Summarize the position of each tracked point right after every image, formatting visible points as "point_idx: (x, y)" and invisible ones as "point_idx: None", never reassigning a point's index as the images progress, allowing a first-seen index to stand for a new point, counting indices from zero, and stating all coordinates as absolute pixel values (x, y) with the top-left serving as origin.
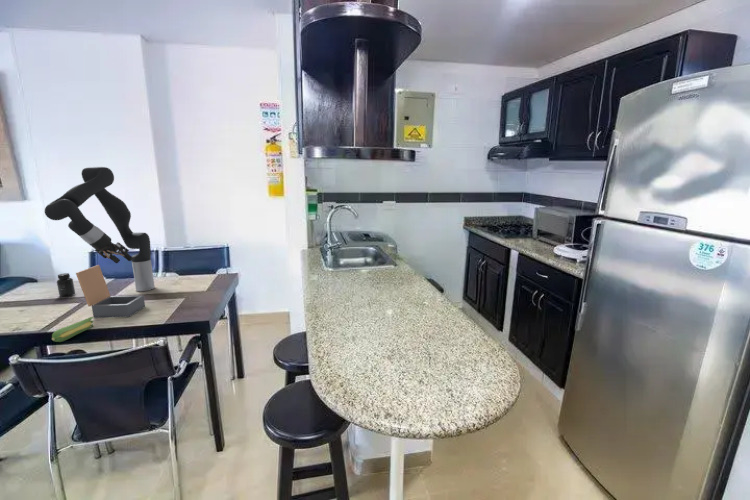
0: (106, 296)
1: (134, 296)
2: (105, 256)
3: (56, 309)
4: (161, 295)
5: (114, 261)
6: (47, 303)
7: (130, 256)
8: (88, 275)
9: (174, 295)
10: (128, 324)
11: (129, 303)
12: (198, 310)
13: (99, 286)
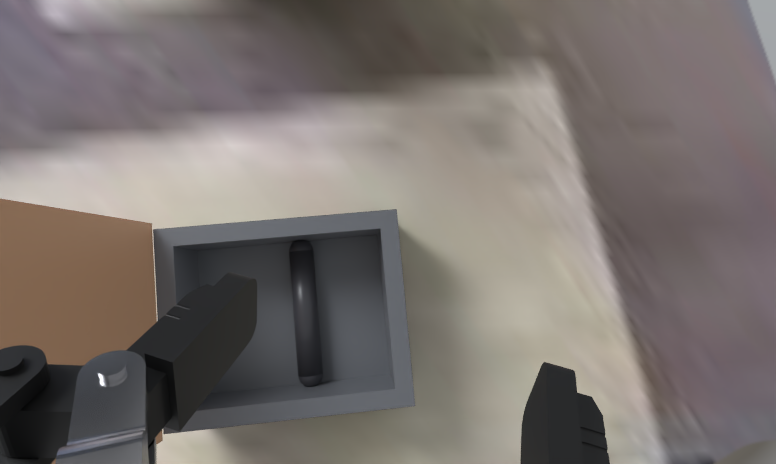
0: (147, 264)
1: (344, 231)
2: (44, 456)
3: None
4: (364, 18)
5: (220, 367)
6: None
7: (600, 445)
8: None
9: (450, 19)
10: None
11: (408, 376)
12: (746, 271)
13: (81, 300)
